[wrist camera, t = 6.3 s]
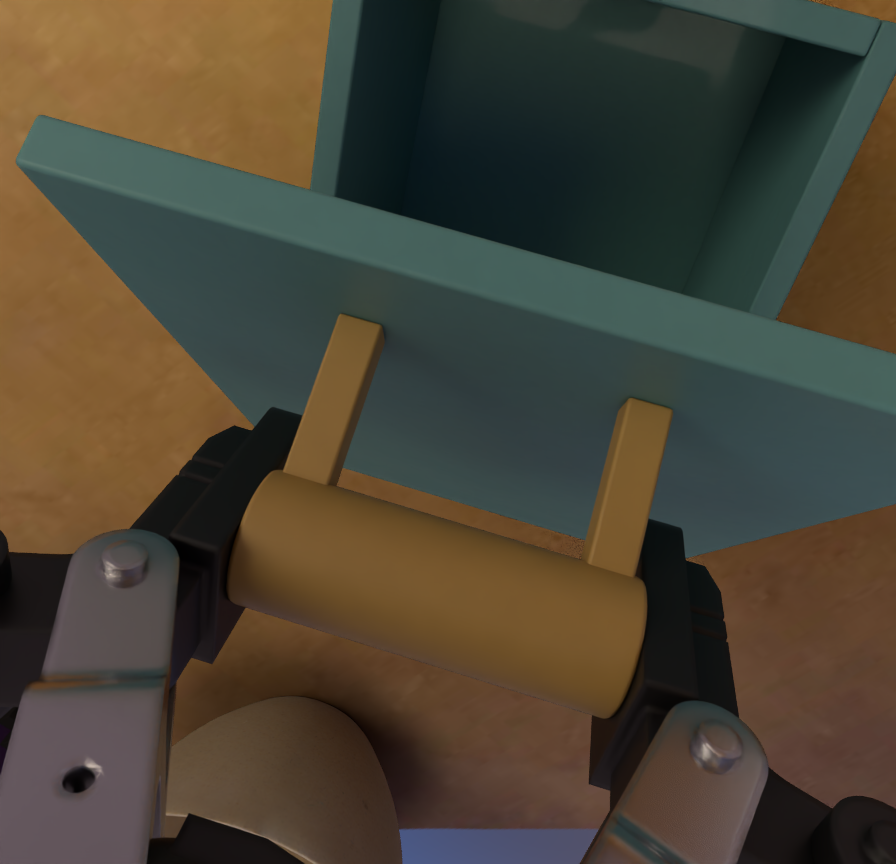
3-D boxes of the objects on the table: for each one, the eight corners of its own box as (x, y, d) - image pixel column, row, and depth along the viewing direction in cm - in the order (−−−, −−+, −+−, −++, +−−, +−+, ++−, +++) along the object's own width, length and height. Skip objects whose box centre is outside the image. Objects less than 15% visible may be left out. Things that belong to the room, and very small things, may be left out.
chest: (438, -84, 27) (346, -119, 18) (815, 14, 27) (919, 29, 17) (368, 314, 35) (280, 429, 26) (655, 396, 35) (667, 544, 26)
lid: (35, 110, 10) (-155, 493, 9) (1075, 400, 9) (1027, 862, 8) (279, 424, 26) (223, 577, 25) (670, 541, 25) (633, 704, 24)
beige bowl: (433, 655, 46) (378, 850, 35) (446, 839, 55) (405, 1038, 44) (157, 622, 49) (33, 792, 39) (212, 801, 58) (123, 978, 48)
